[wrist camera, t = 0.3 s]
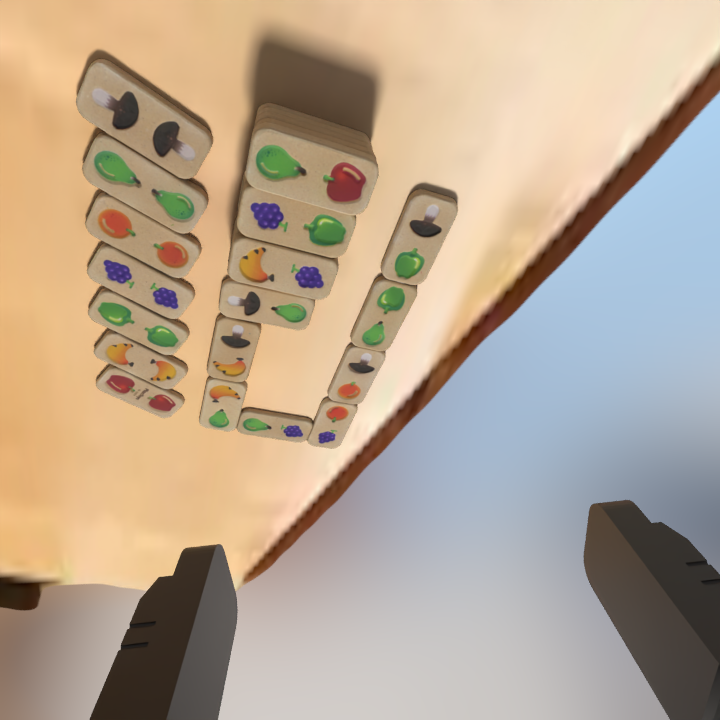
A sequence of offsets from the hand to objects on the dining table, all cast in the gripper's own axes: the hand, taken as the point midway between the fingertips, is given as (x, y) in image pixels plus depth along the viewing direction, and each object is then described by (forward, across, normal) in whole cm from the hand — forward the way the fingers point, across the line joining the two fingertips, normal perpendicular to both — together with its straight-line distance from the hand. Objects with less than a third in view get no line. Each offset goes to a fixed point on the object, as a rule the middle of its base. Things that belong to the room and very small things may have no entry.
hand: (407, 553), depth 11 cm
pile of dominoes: (+35, +9, +4) cm, 36 cm away
